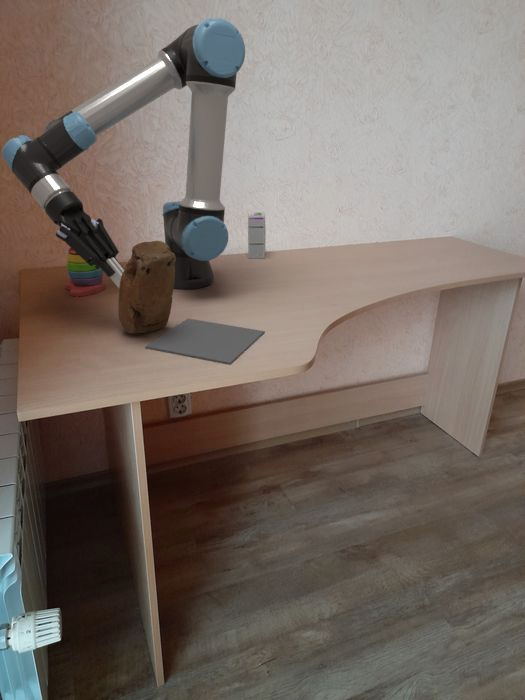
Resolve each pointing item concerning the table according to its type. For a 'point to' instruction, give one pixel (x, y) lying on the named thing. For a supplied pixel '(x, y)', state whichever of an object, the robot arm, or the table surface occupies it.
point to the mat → (206, 340)
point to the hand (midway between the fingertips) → (126, 285)
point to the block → (147, 288)
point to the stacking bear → (83, 276)
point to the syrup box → (256, 235)
